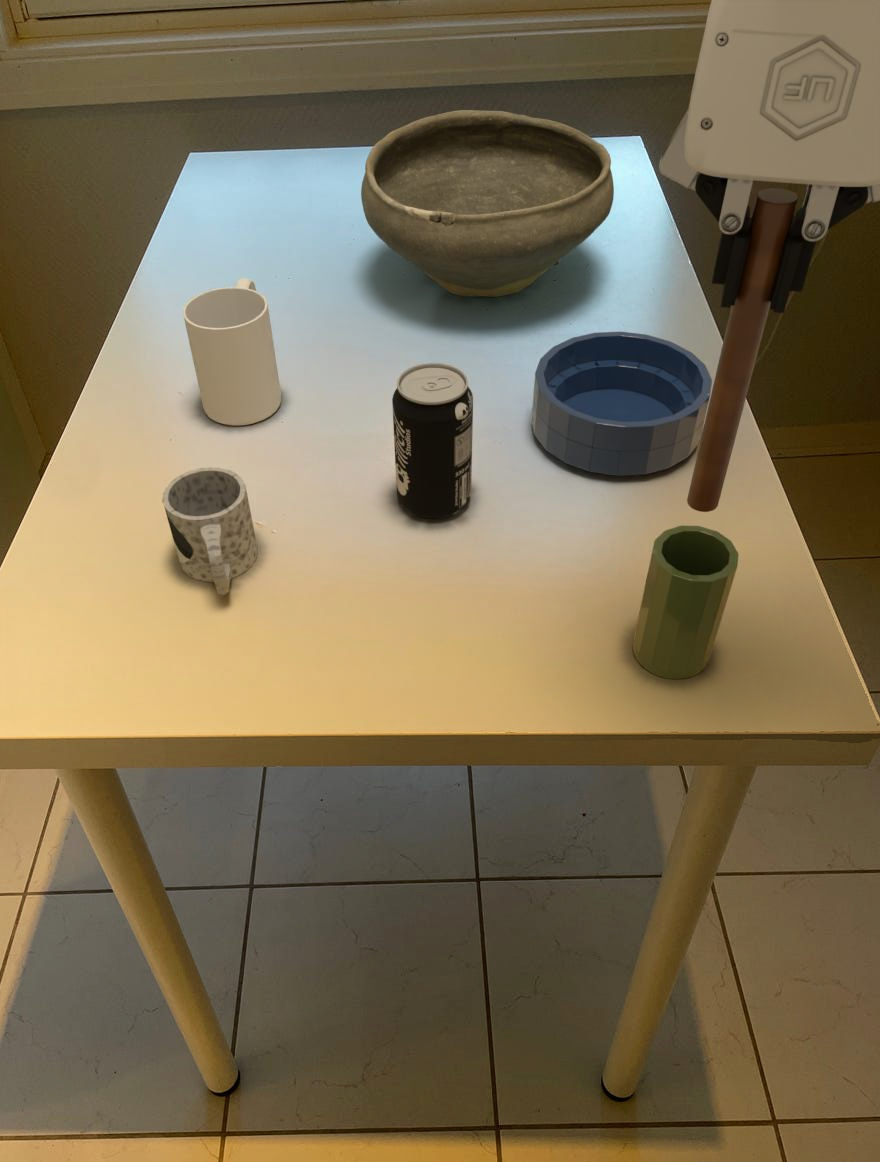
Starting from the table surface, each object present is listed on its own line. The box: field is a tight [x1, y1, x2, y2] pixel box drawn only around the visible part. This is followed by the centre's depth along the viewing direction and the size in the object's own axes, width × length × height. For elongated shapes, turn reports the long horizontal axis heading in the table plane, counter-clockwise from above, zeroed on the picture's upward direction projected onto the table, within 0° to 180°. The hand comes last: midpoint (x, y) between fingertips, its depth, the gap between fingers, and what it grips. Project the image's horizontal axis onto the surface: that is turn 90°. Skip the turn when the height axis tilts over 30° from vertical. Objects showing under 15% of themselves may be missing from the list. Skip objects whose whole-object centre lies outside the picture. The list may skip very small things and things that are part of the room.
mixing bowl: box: [531, 331, 713, 477], centre depth 89 cm, size 16×16×6 cm
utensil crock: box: [632, 525, 740, 680], centre depth 69 cm, size 6×6×10 cm
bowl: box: [360, 109, 615, 298], centre depth 108 cm, size 28×28×14 cm
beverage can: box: [391, 362, 474, 520], centre depth 81 cm, size 7×7×12 cm
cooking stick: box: [686, 187, 799, 513], centre depth 56 cm, size 2×2×20 cm
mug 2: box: [161, 466, 259, 595], centre depth 78 cm, size 10×7×7 cm, turn 13°
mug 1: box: [182, 277, 282, 426], centre depth 94 cm, size 12×8×10 cm, turn 172°
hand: (753, 296), depth 53 cm, fingers closed on cooking stick, 2 cm apart
